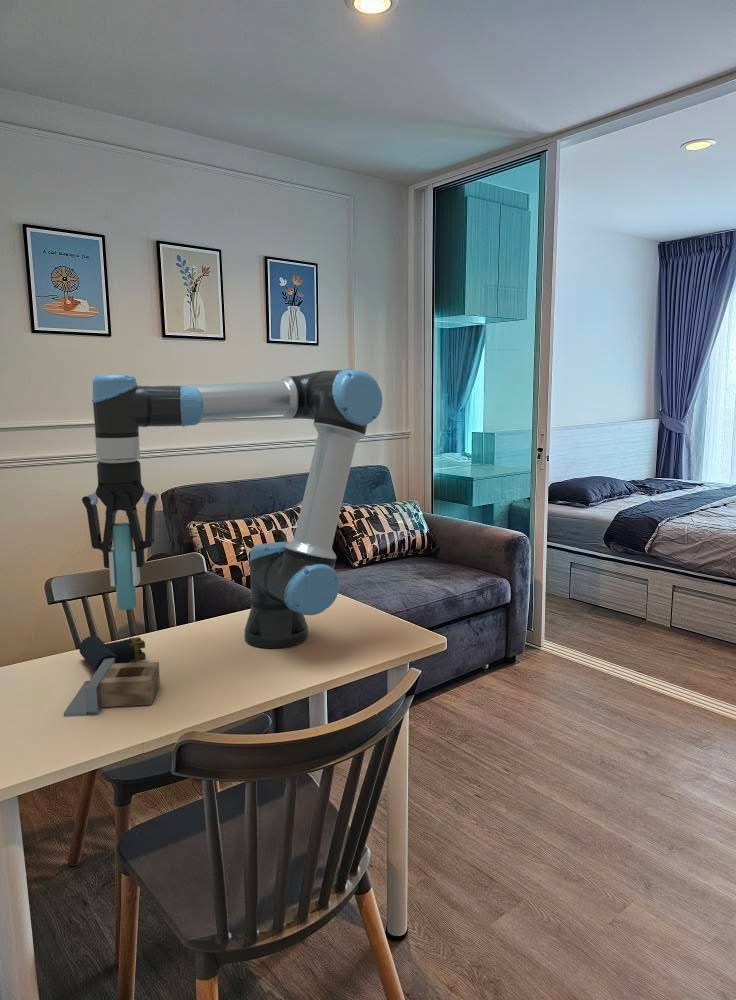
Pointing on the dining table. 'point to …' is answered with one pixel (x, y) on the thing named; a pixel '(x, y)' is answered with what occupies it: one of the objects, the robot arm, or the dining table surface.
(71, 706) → the grey wedge ramp
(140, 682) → the socket block
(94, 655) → the pipe connector
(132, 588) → the dowel
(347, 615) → the dining table surface
